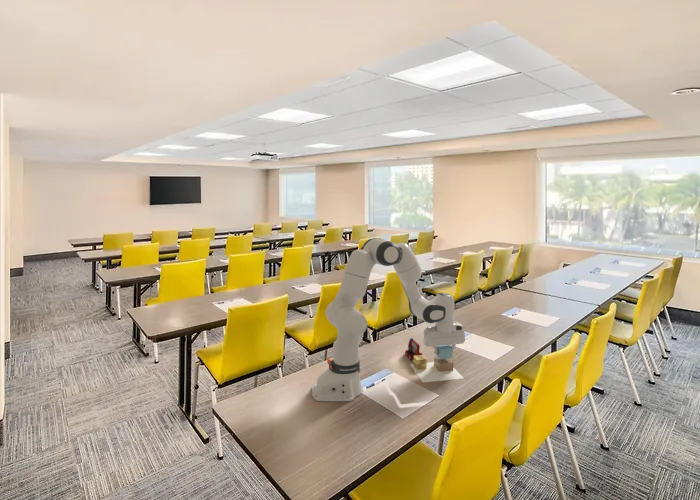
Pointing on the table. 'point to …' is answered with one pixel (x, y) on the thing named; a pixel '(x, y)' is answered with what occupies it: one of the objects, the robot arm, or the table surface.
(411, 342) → the toy fire truck
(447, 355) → the teal block
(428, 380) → the board
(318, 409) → the table surface
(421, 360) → the ochre block
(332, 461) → the table surface
